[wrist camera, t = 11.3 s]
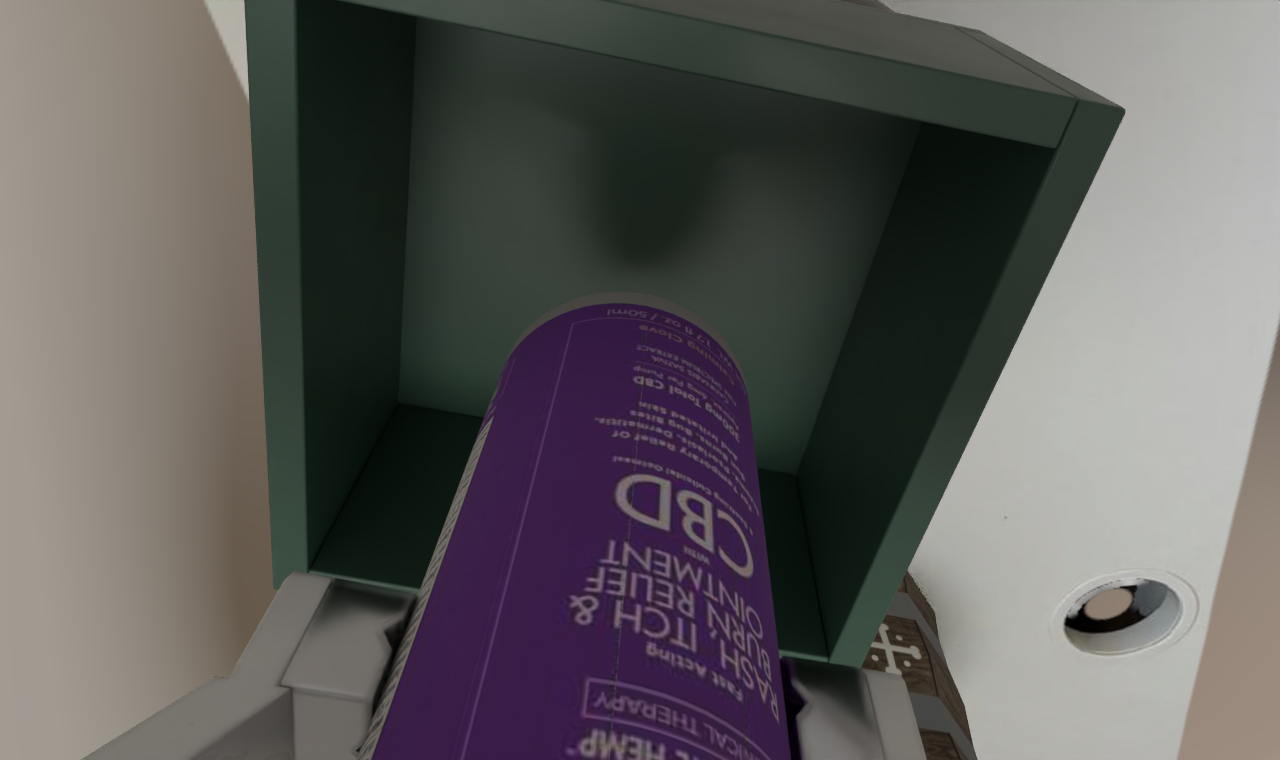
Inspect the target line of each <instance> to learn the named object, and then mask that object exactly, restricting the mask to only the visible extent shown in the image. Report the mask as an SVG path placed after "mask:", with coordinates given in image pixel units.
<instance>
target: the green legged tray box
mask: <svg viewBox="0 0 1280 760" xmlns="http://www.w3.org/2000/svg"><path fill="white" fill-rule="evenodd" d="M244 1H245V21H246V42H247V62H248V82H249V102H250V122H251V142H252V161H253V162H252V163H253V183H254V203H255V222H256V243H257V263H258V283H259V303H260V323H261V342H262V343H261V344H262V363H263V383H264V404H265V424H266V445H267V464H268V484H269V505H270V526H271V546H272V565H273V586H274V589H276V590H279V589H280V587H281V585H282V583H283V582H284V580H285V579H286V578H287V577H288V576H289V575H290V574H291V573H292V572H294V571H299V572H304V573H310V574H315V575H320V576H325V577H330V578H338V579H344V580H349V581H354V582H359V583H364V584H369V585H374V586H379V587H384V588H389V589H394V590H399V591H404V592H409V593H415V594H416V595H417V596H418V593H419V591H420V588H421V585H422V583H423V580H424V577H425V575H426V572H427V569H428V567H429V564H430V561H431V559H432V556H433V553H434V551H435V548H436V545H437V543H438V540H439V537H440V535H441V532H442V529H443V527H444V524H445V521H446V519H447V516H448V513H449V511H450V508H451V505H452V503H453V500H454V497H455V495H456V492H457V489H458V487H459V484H460V481H461V479H462V476H463V473H464V471H465V468H466V465H467V463H468V460H469V457H470V455H471V452H472V449H473V447H474V444H475V441H476V439H477V436H478V433H479V430H480V428H481V425H482V422H483V420H484V417H485V414H486V412H487V409H488V406H489V404H490V401H491V398H492V396H493V393H494V390H495V388H496V385H497V382H498V380H499V377H500V374H501V372H502V370H503V368H504V365H505V363H506V360H507V358H508V356H509V354H510V352H511V350H512V348H513V346H514V345H515V343H516V342H517V340H518V339H519V338H520V336H521V335H522V334H523V332H524V331H525V330H526V329H527V328H528V327H529V326H530V325H531V324H532V323H533V322H535V321H536V320H537V319H538V318H540V317H541V316H542V315H544V314H545V313H547V312H548V311H550V310H551V309H553V308H555V307H557V306H559V305H561V304H563V303H565V302H568V301H571V300H573V299H576V298H579V297H583V296H587V295H592V294H597V293H605V292H634V293H642V294H648V295H652V296H656V297H660V298H663V299H666V300H669V301H672V302H674V303H677V304H679V305H681V306H683V307H685V308H687V309H689V310H690V311H692V312H694V313H696V314H697V315H698V316H700V317H701V318H703V319H704V320H705V321H707V322H708V323H709V324H710V325H711V326H712V327H713V328H715V329H716V330H717V331H718V332H719V334H720V335H721V336H722V337H723V338H724V339H725V340H726V342H727V343H728V345H729V346H730V347H731V349H732V350H733V352H734V354H735V356H736V357H737V359H738V361H739V364H740V366H741V368H742V371H743V374H744V378H745V382H746V388H747V394H748V399H749V406H750V414H751V422H752V431H753V439H754V448H755V456H756V465H757V473H758V481H759V490H760V498H761V507H762V515H763V524H764V532H765V540H766V549H767V557H768V566H769V574H770V583H771V591H772V599H773V608H774V616H775V625H776V633H777V642H778V650H779V658H780V659H781V657H782V656H790V657H796V658H802V659H809V660H815V661H821V662H828V663H834V664H840V665H846V666H853V667H857V668H858V669H860V668H861V666H862V664H863V662H864V660H865V657H866V655H867V653H868V651H869V649H870V647H871V645H872V643H873V641H874V639H875V637H876V634H877V632H878V630H879V628H880V626H881V624H882V622H883V620H884V618H885V616H886V613H887V611H888V609H889V607H890V605H891V603H892V601H893V599H894V597H895V595H896V592H897V590H898V588H899V586H900V584H901V582H902V580H903V578H904V576H905V574H906V572H907V569H908V567H909V565H910V563H911V561H912V559H913V557H914V555H915V553H916V551H917V548H918V546H919V544H920V542H921V540H922V538H923V536H924V534H925V532H926V530H927V528H928V525H929V523H930V521H931V519H932V517H933V515H934V513H935V511H936V509H937V507H938V504H939V502H940V500H941V498H942V496H943V494H944V492H945V490H946V488H947V486H948V483H949V481H950V479H951V477H952V475H953V473H954V471H955V469H956V467H957V465H958V463H959V460H960V458H961V456H962V454H963V452H964V450H965V448H966V446H967V444H968V442H969V439H970V437H971V435H972V433H973V431H974V429H975V427H976V425H977V423H978V421H979V419H980V416H981V414H982V412H983V410H984V408H985V406H986V404H987V402H988V400H989V398H990V395H991V393H992V391H993V389H994V387H995V385H996V383H997V381H998V379H999V377H1000V374H1001V372H1002V370H1003V368H1004V366H1005V364H1006V362H1007V360H1008V358H1009V356H1010V354H1011V351H1012V349H1013V347H1014V345H1015V343H1016V341H1017V339H1018V337H1019V335H1020V333H1021V330H1022V328H1023V326H1024V324H1025V322H1026V320H1027V318H1028V316H1029V314H1030V312H1031V310H1032V307H1033V305H1034V303H1035V301H1036V299H1037V297H1038V295H1039V293H1040V291H1041V289H1042V286H1043V284H1044V282H1045V280H1046V278H1047V276H1048V274H1049V272H1050V270H1051V268H1052V265H1053V263H1054V261H1055V259H1056V257H1057V255H1058V253H1059V251H1060V249H1061V247H1062V245H1063V242H1064V240H1065V238H1066V236H1067V234H1068V232H1069V230H1070V228H1071V226H1072V224H1073V221H1074V219H1075V217H1076V215H1077V213H1078V211H1079V209H1080V207H1081V205H1082V203H1083V201H1084V198H1085V196H1086V194H1087V192H1088V190H1089V188H1090V186H1091V184H1092V182H1093V180H1094V177H1095V175H1096V173H1097V171H1098V169H1099V167H1100V165H1101V163H1102V161H1103V159H1104V156H1105V154H1106V152H1107V150H1108V148H1109V146H1110V144H1111V142H1112V140H1113V138H1114V136H1115V133H1116V131H1117V129H1118V127H1119V125H1120V123H1121V121H1122V119H1123V117H1124V115H1125V109H1124V108H1123V107H1121V106H1119V105H1117V104H1115V103H1113V102H1112V101H1110V100H1108V99H1106V98H1104V97H1102V96H1100V95H1099V94H1097V93H1095V92H1093V91H1091V90H1089V89H1087V88H1086V87H1084V86H1082V85H1080V84H1078V83H1076V82H1074V81H1073V80H1071V79H1069V78H1067V77H1065V76H1063V75H1061V74H1060V73H1058V72H1056V71H1054V70H1052V69H1050V68H1048V67H1047V66H1045V65H1043V64H1041V63H1039V62H1037V61H1035V60H1034V59H1032V58H1030V57H1028V56H1026V55H1024V54H1022V53H1021V52H1019V51H1017V50H1015V49H1013V48H1011V47H1009V46H1008V45H1006V44H1004V43H1002V42H1000V41H998V40H996V39H995V38H993V37H991V36H989V35H987V34H985V33H983V32H982V31H980V30H975V29H970V28H966V27H961V26H956V25H952V24H947V23H942V22H938V21H933V20H928V19H924V18H919V17H914V16H910V15H905V14H900V13H896V12H894V11H893V10H891V9H890V8H888V7H887V6H885V5H884V4H882V3H881V2H879V1H878V0H244Z"/></svg>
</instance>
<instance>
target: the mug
mask: <svg viewBox="0 0 1280 760" xmlns="http://www.w3.org/2000/svg"><path fill="white" fill-rule="evenodd" d="M861 668H863V669H869V670H875V671H881V672H887V673H893V674H899V675H900V676H901V677H902V678H903V680H904V681H905V683H906V686H907V690H908V694H909V697H910V701H911V704H912V708H913V712H914V715H915V719H916V722H917V726H918V730H919V733H920V737H921V741H922V744H923V748H924V751H925V755H926V759H927V760H977V757H976V754H975V751H974V747H973V743H972V738H971V734H970V729H969V725H968V720H967V715H966V711H965V706H964V703H963V701H962V699H961V697H960V694H959V692H958V690H957V687H956V685H955V683H954V681H953V678H952V676H951V674H950V671H949V669H948V666H947V663H946V660H945V657H944V654H943V651H942V648H941V645H940V642H939V637H938V631H937V625H936V619H935V613H934V611H933V609H932V608H931V606H930V605H929V603H928V602H927V600H926V599H925V597H924V596H923V594H922V593H921V591H920V590H919V588H918V587H917V585H916V584H915V582H914V580H913V579H912V577H911V576H910V574H909V573H908V571H907V572H906V574H905V576H904V578H903V580H902V582H901V584H900V586H899V588H898V590H897V592H896V595H895V597H894V599H893V601H892V603H891V605H890V607H889V609H888V611H887V613H886V616H885V618H884V620H883V622H882V624H881V626H880V628H879V630H878V632H877V634H876V637H875V639H874V641H873V643H872V645H871V647H870V649H869V651H868V653H867V655H866V657H865V660H864V662H863V664H862V666H861Z"/></svg>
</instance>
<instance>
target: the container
mask: <svg viewBox="0 0 1280 760" xmlns="http://www.w3.org/2000/svg"><path fill="white" fill-rule="evenodd" d="M356 760H791V751H790V743H789V734H788V726H787V717H786V709H785V701H784V692H783V684H782V675H781V667H780V658H779V650H778V642H777V633H776V625H775V616H774V608H773V599H772V591H771V583H770V574H769V566H768V557H767V549H766V540H765V532H764V524H763V515H762V507H761V498H760V490H759V481H758V473H757V465H756V456H755V448H754V439H753V431H752V422H751V414H750V406H749V399H748V394H747V388H746V382H745V378H744V374H743V371H742V368H741V366H740V364H739V361H738V359H737V357H736V356H735V354H734V352H733V350H732V349H731V347H730V346H729V345H728V343H727V342H726V340H725V339H724V338H723V337H722V336H721V335H720V334H719V332H718V331H717V330H716V329H715V328H713V327H712V326H711V325H710V324H709V323H708V322H707V321H705V320H704V319H703V318H701V317H700V316H698V315H697V314H696V313H694V312H692V311H690V310H689V309H687V308H685V307H683V306H681V305H679V304H677V303H674V302H672V301H669V300H666V299H663V298H660V297H656V296H652V295H648V294H642V293H634V292H605V293H597V294H592V295H587V296H583V297H579V298H576V299H573V300H571V301H568V302H565V303H563V304H561V305H559V306H557V307H555V308H553V309H551V310H550V311H548V312H547V313H545V314H544V315H542V316H541V317H540V318H538V319H537V320H536V321H535V322H533V323H532V324H531V325H530V326H529V327H528V328H527V329H526V330H525V331H524V332H523V334H522V335H521V336H520V338H519V339H518V340H517V342H516V343H515V345H514V346H513V348H512V350H511V352H510V354H509V356H508V358H507V360H506V363H505V365H504V368H503V370H502V372H501V374H500V377H499V380H498V382H497V385H496V388H495V390H494V393H493V396H492V398H491V401H490V404H489V406H488V409H487V412H486V414H485V417H484V420H483V422H482V425H481V428H480V430H479V433H478V436H477V439H476V441H475V444H474V447H473V449H472V452H471V455H470V457H469V460H468V463H467V465H466V468H465V471H464V473H463V476H462V479H461V481H460V484H459V487H458V489H457V492H456V495H455V497H454V500H453V503H452V505H451V508H450V511H449V513H448V516H447V519H446V521H445V524H444V527H443V529H442V532H441V535H440V537H439V540H438V543H437V545H436V548H435V551H434V553H433V556H432V559H431V561H430V564H429V567H428V569H427V572H426V575H425V577H424V580H423V583H422V585H421V588H420V591H419V593H418V596H417V600H416V603H415V606H414V609H413V611H412V614H411V617H410V620H409V622H408V625H407V628H406V630H405V633H404V636H403V638H402V641H401V643H400V645H399V647H398V649H397V652H396V655H395V657H394V660H393V663H392V666H391V671H390V673H389V676H388V679H387V681H386V684H385V687H384V689H383V692H382V695H381V697H380V700H379V703H378V705H377V708H376V710H375V713H374V716H373V718H372V721H371V723H370V725H369V727H368V730H367V732H366V735H365V738H364V740H363V743H362V746H361V748H360V751H359V754H358V756H357V759H356Z"/></svg>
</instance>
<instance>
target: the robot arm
mask: <svg viewBox="0 0 1280 760" xmlns="http://www.w3.org/2000/svg"><path fill="white" fill-rule="evenodd" d="M416 600H417V595H416V594H415V593H409V592H404V591H399V590H394V589H389V588H384V587H379V586H374V585H369V584H364V583H359V582H354V581H349V580H344V579H338V578H330V577H325V576H320V575H315V574H310V573H304V572H299V571H294V572H292V573H291V574H290V575H289V576H288V577H287V578H286V579H285V580H284V582H283V583H282V585H281V587H280V589H279V590H278V592H277V594H276V596H275V597H274V599H273V601H272V603H271V604H270V606H269V608H268V610H267V611H266V613H265V615H264V616H263V618H262V620H261V622H260V624H259V625H258V627H257V629H256V630H255V632H254V634H253V636H252V637H251V639H250V641H249V643H248V645H247V646H246V648H245V650H244V651H243V653H242V655H241V657H240V658H239V660H238V662H237V664H236V665H235V667H234V669H233V671H232V672H231V674H230V676H229V678H224V677H217V676H215V677H214V678H212V679H210V680H209V681H207V682H205V683H204V684H202V685H201V686H199V687H197V688H196V689H194V690H193V691H191V692H189V693H188V694H186V695H185V696H183V697H181V698H180V699H178V700H177V701H175V702H174V703H172V704H170V705H168V706H167V707H165V708H164V709H162V710H160V711H159V712H157V713H155V714H154V715H152V716H151V717H149V718H147V719H146V720H144V721H142V722H141V723H139V724H138V725H136V726H135V727H133V728H131V729H130V730H128V731H126V732H125V733H123V734H122V735H120V736H118V737H117V738H115V739H113V740H112V741H110V742H109V743H107V744H105V745H104V746H102V747H101V748H99V749H97V750H96V751H94V752H93V753H91V754H89V755H88V756H86V757H84V758H83V759H81V760H356V759H357V756H358V754H359V751H360V748H361V746H362V743H363V740H364V738H365V735H366V732H367V730H368V727H369V725H370V723H371V721H372V718H373V716H374V713H375V710H376V708H377V705H378V703H379V700H380V697H381V695H382V692H383V689H384V687H385V684H386V681H387V679H388V676H389V673H390V671H391V666H392V663H393V660H394V657H395V655H396V652H397V649H398V647H399V645H400V643H401V641H402V638H403V636H404V633H405V630H406V628H407V625H408V622H409V620H410V617H411V614H412V611H413V609H414V606H415V603H416ZM780 667H781V675H782V684H783V692H784V701H785V709H786V717H787V726H788V734H789V743H790V751H791V760H927V759H926V755H925V751H924V748H923V744H922V741H921V737H920V733H919V730H918V726H917V722H916V719H915V715H914V712H913V708H912V704H911V701H910V697H909V694H908V690H907V686H906V683H905V681H904V680H903V678H902V677H901V676H900V675H899V674H893V673H887V672H881V671H875V670H869V669H863V668H860V669H858V668H857V667H853V666H846V665H840V664H834V663H828V662H821V661H815V660H809V659H802V658H796V657H790V656H782V657H781V659H780Z"/></svg>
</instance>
